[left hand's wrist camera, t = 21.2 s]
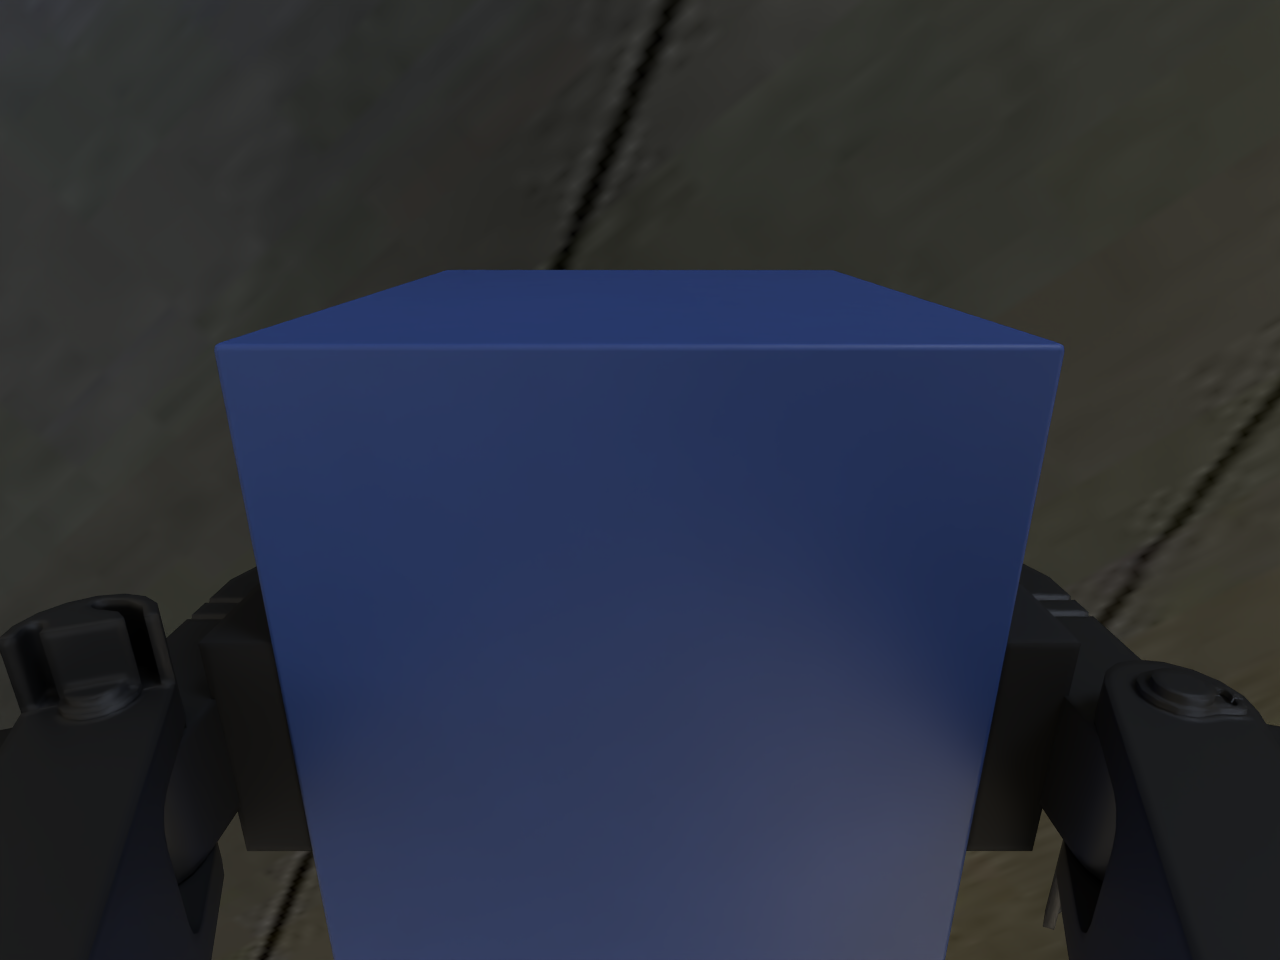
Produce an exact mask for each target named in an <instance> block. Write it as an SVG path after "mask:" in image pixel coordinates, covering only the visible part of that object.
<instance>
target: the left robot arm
mask: <svg viewBox="0 0 1280 960" xmlns="http://www.w3.org/2000/svg"><path fill="white" fill-rule="evenodd" d="M0 652H1V655H2V658H3V661H4V664H5V667H6V670H7V673H8V675H9V678H10V681H11V684H12V687H13V690H14V693H15V696H16V699H17V702H18V705H19V708H20V710H21V715H20V716H19V718H18V720H17V721H16V723H15V725H14V726H13V728H10V729H4V730H0V960H211V958H212V951H213V945H214V938H215V932H216V925H217V919H218V912H219V905H220V899H221V892H222V886H223V879H224V871H223V864H222V858H221V854H220V850H219V846H218V842H217V841H218V840H219V838H220V837H221V835H222V834H223V832H224V831H225V829H226V828H227V826H228V825H229V823H230V822H231V820H232V819H233V817H234V816H235V814H236V813H237V811H238V814H239V818H240V822H241V827H242V831H243V835H244V839H245V844H246V848H247V851H313V850H312V845H311V840H310V835H309V830H308V825H307V820H306V815H305V810H304V805H303V799H302V794H301V789H300V784H299V779H298V774H297V769H296V764H295V759H294V754H293V749H292V743H291V738H290V733H289V728H288V723H287V718H286V713H285V708H284V703H283V698H282V693H281V687H280V682H279V677H278V672H277V667H276V662H275V657H274V652H273V647H272V642H271V637H270V631H269V626H268V621H267V616H266V611H265V606H264V601H263V596H262V591H261V586H260V581H259V575H258V570H257V567H255V568H253V569H251V570H249V571H247V572H245V573H243V574H241V575H239V576H237V577H235V578H233V579H231V580H230V581H229V582H228V583H227V584H226V585H224V586H223V587H222V588H221V589H220V590H219V591H218V592H217V593H216V594H215V595H213V596H212V597H211V598H210V602H209V603H205V604H204V605H202V606H201V607H200V608H199V609H198V610H197V611H196V612H195V613H194V614H193V615H192V619H187V620H186V621H185V622H184V623H183V624H181V625H180V626H179V627H178V628H177V629H176V630H175V631H174V632H173V633H172V634H170V635H169V636H168V637H167V638H166V636H165V632H164V628H163V624H162V620H161V616H160V612H159V608H158V604H157V603H156V602H154V601H153V600H151V599H149V598H148V597H146V596H139V595H131V594H116V595H103V596H95V597H91V598H86V599H82V600H77V601H72V602H68V603H65V604H62V605H59V606H56V607H54V608H51V609H48V610H45V611H42V612H39V613H37V614H35V615H33V616H31V617H29V618H28V619H26V620H24V621H22V622H20V623H18V624H16V625H14V626H12V627H11V628H10V629H9V630H8V631H7V632H6V633H4V634H3V635H2V636H1V637H0ZM1042 808H1043V810H1044V811H1045V813H1046V814H1047V816H1048V817H1049V819H1050V820H1051V822H1052V823H1053V825H1054V826H1055V828H1056V829H1057V831H1058V832H1059V834H1060V835H1061V837H1062V838H1063V842H1062V846H1061V850H1060V854H1059V858H1058V862H1057V866H1056V870H1055V874H1054V878H1053V882H1052V886H1051V890H1050V894H1049V898H1048V902H1047V906H1046V910H1045V916H1044V922H1043V927H1047V928H1050V929H1053V930H1054V929H1055V925H1056V921H1057V917H1058V914H1059V913H1060V912H1062V916H1063V923H1064V930H1065V936H1066V943H1067V949H1068V956H1069V960H1280V727H1279V726H1274V725H1268V724H1266V723H1265V721H1264V720H1263V718H1262V716H1261V715H1260V713H1259V712H1258V711H1257V710H1256V709H1255V708H1254V706H1253V705H1252V704H1251V703H1250V702H1249V701H1248V700H1247V699H1246V698H1245V697H1244V696H1243V695H1241V694H1240V693H1238V692H1236V691H1235V690H1233V689H1232V688H1230V687H1228V686H1227V685H1225V684H1224V683H1222V682H1220V681H1218V680H1216V679H1213V678H1211V677H1209V676H1206V675H1204V674H1201V673H1199V672H1197V671H1194V670H1192V669H1188V668H1184V667H1180V666H1176V665H1172V664H1169V663H1165V662H1157V661H1146V660H1141V659H1140V658H1139V657H1137V656H1136V655H1135V654H1134V653H1133V652H1132V651H1131V650H1130V649H1129V648H1127V647H1126V646H1125V645H1124V644H1123V643H1122V642H1121V641H1120V640H1119V639H1117V638H1116V637H1115V636H1114V635H1113V634H1112V633H1111V632H1110V631H1109V630H1107V629H1106V628H1105V627H1104V626H1103V625H1102V624H1101V623H1100V622H1099V621H1097V620H1096V619H1095V618H1094V617H1093V616H1089V615H1088V612H1087V611H1086V610H1085V609H1084V608H1083V607H1082V606H1081V605H1080V604H1079V603H1077V602H1076V601H1075V600H1071V599H1070V595H1069V594H1067V593H1066V592H1065V591H1064V590H1063V589H1062V588H1061V587H1060V586H1059V585H1057V584H1056V583H1055V582H1054V581H1053V580H1052V579H1051V578H1050V577H1048V576H1046V575H1044V574H1042V573H1040V572H1038V571H1036V570H1034V569H1032V568H1030V567H1028V566H1026V565H1024V564H1022V569H1021V574H1020V580H1019V585H1018V590H1017V595H1016V600H1015V605H1014V610H1013V615H1012V620H1011V625H1010V630H1009V635H1008V641H1007V646H1006V651H1005V656H1004V661H1003V666H1002V671H1001V676H1000V681H999V686H998V691H997V696H996V702H995V707H994V712H993V717H992V722H991V727H990V732H989V737H988V742H987V747H986V752H985V757H984V763H983V768H982V773H981V778H980V783H979V788H978V793H977V798H976V803H975V808H974V813H973V818H972V824H971V829H970V834H969V839H968V844H967V849H966V851H1032V850H1033V846H1034V841H1035V837H1036V833H1037V829H1038V824H1039V820H1040V816H1041V812H1042Z"/></svg>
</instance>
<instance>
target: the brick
mask: <svg viewBox="0 0 1280 960" xmlns="http://www.w3.org/2000/svg"><path fill="white" fill-rule="evenodd" d="M214 351H215V357H216V362H217V367H218V372H219V377H220V382H221V387H222V392H223V397H224V402H225V407H226V413H227V418H228V423H229V428H230V433H231V438H232V443H233V448H234V453H235V458H236V463H237V469H238V474H239V479H240V484H241V489H242V494H243V499H244V504H245V509H246V514H247V519H248V525H249V530H250V535H251V540H252V545H253V550H254V555H255V560H256V565H257V570H258V575H259V581H260V586H261V591H262V596H263V601H264V606H265V611H266V616H267V621H268V626H269V631H270V637H271V642H272V647H273V652H274V657H275V662H276V667H277V672H278V677H279V682H280V687H281V693H282V698H283V703H284V708H285V713H286V718H287V723H288V728H289V733H290V738H291V743H292V749H293V754H294V759H295V764H296V769H297V774H298V779H299V784H300V789H301V794H302V799H303V805H304V810H305V815H306V820H307V825H308V830H309V835H310V840H311V845H312V850H313V855H314V861H315V866H316V871H317V876H318V881H319V886H320V891H321V896H322V901H323V906H324V911H325V917H326V922H327V927H328V932H329V937H330V942H331V947H332V952H333V957H334V960H945V956H946V951H947V946H948V941H949V935H950V930H951V925H952V920H953V915H954V910H955V905H956V900H957V895H958V890H959V885H960V879H961V874H962V869H963V864H964V859H965V854H966V849H967V844H968V839H969V834H970V829H971V824H972V818H973V813H974V808H975V803H976V798H977V793H978V788H979V783H980V778H981V773H982V768H983V763H984V757H985V752H986V747H987V742H988V737H989V732H990V727H991V722H992V717H993V712H994V707H995V702H996V696H997V691H998V686H999V681H1000V676H1001V671H1002V666H1003V661H1004V656H1005V651H1006V646H1007V641H1008V635H1009V630H1010V625H1011V620H1012V615H1013V610H1014V605H1015V600H1016V595H1017V590H1018V585H1019V580H1020V574H1021V569H1022V564H1023V559H1024V554H1025V549H1026V544H1027V539H1028V534H1029V529H1030V524H1031V518H1032V513H1033V508H1034V503H1035V498H1036V493H1037V488H1038V483H1039V478H1040V473H1041V468H1042V463H1043V457H1044V452H1045V447H1046V442H1047V437H1048V432H1049V427H1050V422H1051V417H1052V412H1053V407H1054V402H1055V396H1056V391H1057V386H1058V381H1059V376H1060V371H1061V366H1062V361H1063V356H1064V346H1063V345H1061V344H1059V343H1057V342H1053V341H1050V340H1047V339H1044V338H1041V337H1038V336H1035V335H1032V334H1029V333H1026V332H1022V331H1019V330H1016V329H1013V328H1010V327H1007V326H1004V325H1001V324H998V323H995V322H991V321H988V320H985V319H982V318H979V317H976V316H973V315H970V314H967V313H963V312H960V311H957V310H954V309H951V308H948V307H945V306H942V305H939V304H936V303H932V302H929V301H926V300H923V299H920V298H917V297H914V296H911V295H908V294H905V293H901V292H898V291H895V290H892V289H889V288H886V287H883V286H880V285H877V284H873V283H870V282H867V281H864V280H861V279H858V278H855V277H852V276H849V275H846V274H842V273H839V272H836V271H833V270H446V271H443V272H440V273H437V274H434V275H430V276H427V277H424V278H421V279H418V280H415V281H412V282H409V283H405V284H402V285H399V286H396V287H393V288H390V289H387V290H384V291H380V292H377V293H374V294H371V295H368V296H365V297H362V298H359V299H355V300H352V301H349V302H346V303H343V304H340V305H337V306H334V307H330V308H327V309H324V310H321V311H318V312H315V313H312V314H309V315H305V316H302V317H299V318H296V319H293V320H290V321H287V322H284V323H280V324H277V325H274V326H271V327H268V328H265V329H262V330H259V331H255V332H252V333H249V334H246V335H243V336H240V337H237V338H234V339H230V340H227V341H224V342H221V343H219V344H217V345H216V346H215V350H214Z"/></svg>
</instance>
